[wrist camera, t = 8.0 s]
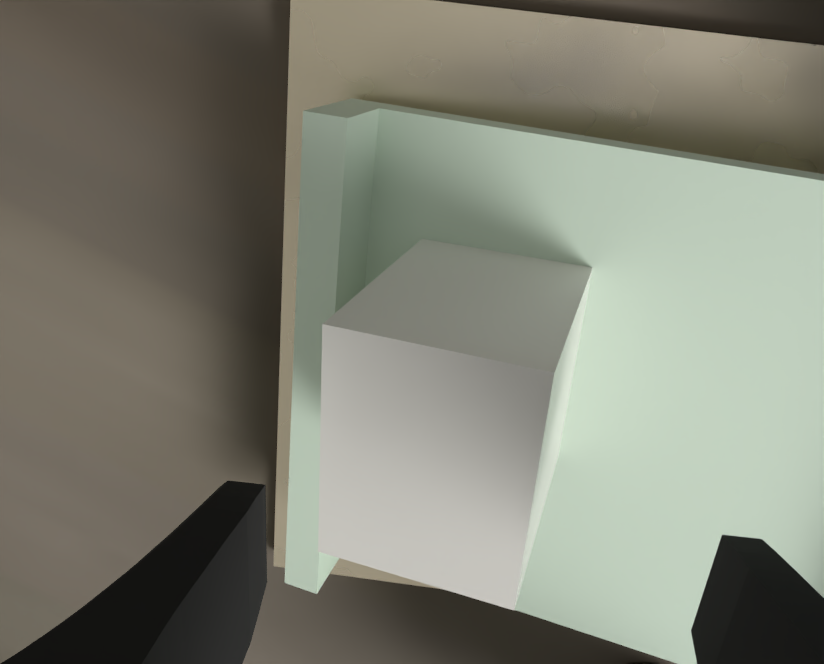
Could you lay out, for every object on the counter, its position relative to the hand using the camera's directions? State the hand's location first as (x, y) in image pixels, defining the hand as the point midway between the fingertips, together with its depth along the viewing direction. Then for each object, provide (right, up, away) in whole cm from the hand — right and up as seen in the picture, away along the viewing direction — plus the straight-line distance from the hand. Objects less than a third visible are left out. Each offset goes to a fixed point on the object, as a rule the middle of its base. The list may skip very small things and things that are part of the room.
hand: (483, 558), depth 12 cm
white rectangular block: (+1, +3, +6) cm, 7 cm away
